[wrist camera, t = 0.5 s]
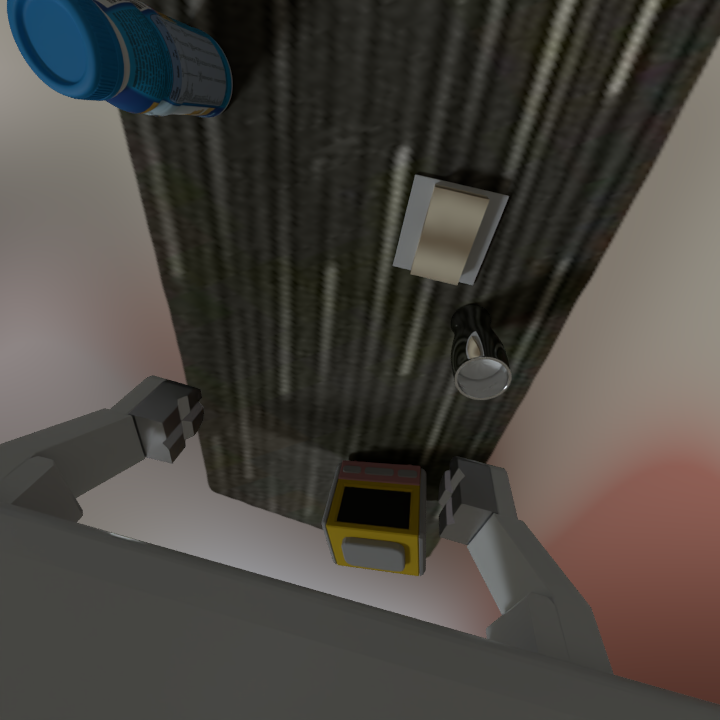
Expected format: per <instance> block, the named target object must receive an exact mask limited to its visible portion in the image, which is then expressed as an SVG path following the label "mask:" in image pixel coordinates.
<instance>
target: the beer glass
mask: <svg viewBox="0 0 720 720" xmlns="http://www.w3.org/2000/svg"><path fill="white" fill-rule="evenodd" d="M451 329H452V331H453V333H454V335H455V336H454V340H453V344H452V350H451V366H452V372H453V376H454V382H455V385H456V388H457V389H458V391H459V392H460V393H461V394H463V395H464V396H466V397H468V398H471V399H476V400H486V399H491V398H494V397H497V396H499V395H500V394H502V393H503V392H504V391H505V390H506V389H507V388H508V387H509V385H510V382H511V371H510V367H509V361H508V357H507V354H506V351H505V348H504V346H503V344H502V342H501V341H500V339H499V337H498V336H497V335H496V333H495V332H494V331H493V330H492V328H491V316H490V314H489V312H488V311H487V310H486V309H485V308H484V307H482V306H479V305H474V304H471V305H466V306H463V307H461V308H459V309H458V310H457V311H456V312H455V313H454V314H453V316H452V318H451Z"/></svg>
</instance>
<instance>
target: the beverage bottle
mask: <svg viewBox="0 0 720 720" xmlns="http://www.w3.org/2000/svg"><path fill="white" fill-rule="evenodd" d="M7 13H8V19H9V24H10V28H11V31H12V34H13V37H14V40H15V42H16V44H17V46H18V48H19V50H20V52H21V54H22V56H23V57H24V59H25V61H26V62H27V63H28V65H29V66H30V67H31V69H32V70H33V71H34V73H35V74H36V75H37V76H38V77H39V78H40V79H41V80H42V81H43V82H44V83H45V84H47V85H48V86H49V87H50V88H52V89H53V90H55V91H57V92H58V93H60V94H63V95H65V96H68V97H71V98H74V99H83V100H97V101H103V100H106V101H107V102H109V103H110V104H112V105H114V106H115V107H117V108H119V109H122V110H124V111H127V112H130V113H137V114H141V113H144V114H147V115H151V116H166V115H169V114H181V115H196V116H200V117H214V116H217V115H219V114H221V113H222V112H223V111H224V110H225V109H226V107H227V106H228V104H229V102H230V99H231V96H232V89H233V81H232V73H231V69H230V65H229V63H228V60H227V58H226V56H225V54H224V52H223V50H222V49H221V47H220V46H219V45H218V43H217V42H216V41H215V40H214V39H213V38H212V37H211V36H209V35H208V34H207V33H205V32H203V31H201V30H199V29H196V28H193V27H190V26H188V25H186V24H183V23H181V22H179V21H177V20H175V19H172V18H170V17H168V16H166V15H163V14H161V13H159V12H157V11H155V10H154V9H152V8H151V7H149V6H148V5H146V4H144V3H142V2H140V1H137V0H7Z"/></svg>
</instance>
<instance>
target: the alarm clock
mask: <svg viewBox="0 0 720 720" xmlns="http://www.w3.org/2000/svg"><path fill="white" fill-rule="evenodd" d="M322 527H323V530H324V533H325V536H326V539H327V543H328V546H329V549H330V553H331V556H332V559H333V562H334V563H335V564H338V565H342V566H349V567H356V568H363V569H371V570H378V571H385V572H392V573H400V574H407V575H415V576H419V573H420V576H421V575H423V574H424V572H425V569H426V567H425V566H426V472H425V470H424V469H422V468H421V469H420V466H413V465H411V464H409V465H399V464H385V463H371V462H357V461H356V460H355V461H343V462H342V463H340V464H339V465H338V466H337V469H336V473H335V477H334V480H333V484H332V487H331V491H330V495H329V498H328V502H327V505H326V509H325V512H324V516H323V520H322Z"/></svg>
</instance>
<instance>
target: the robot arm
mask: <svg viewBox="0 0 720 720" xmlns="http://www.w3.org/2000/svg"><path fill="white" fill-rule="evenodd" d="M201 398H202V394H201V390H200V389H198V388H195V387H192V386H189V385H185V384H182V383H178V382H175V381H171V380H167V379H163V378H160V377H157V376H150V377H147V378H146V379H145V380H143V382H141V383H140V384H139V385H138V386H136V387H135V388H134V389H133V390H132V391H131V392H130V393H128V394H127V395H126V396H125V397H124V398H123V399H121V400H120V401H119V402H118V403H117V404H116V405H114V406H113V407H112V408H111V409H102V410H99V411H96V412H93V413H90V414H87V415H84V416H81V417H78V418H76V419H72V420H70V421H67V422H64V423H61V424H58V425H55V426H52V427H49V428H47V429H43V430H40V431H37V432H34V433H32V434H29V435H26V436H23V437H20V438H17V439H14V440H11V441H8V442H5V443H3V444H0V720H720V705H719V704H715V703H712V702H708V701H704V700H701V699H697V698H694V697H690V696H687V695H683V694H679V693H676V692H673V691H669V690H666V689H662V688H659V687H655V686H651V685H648V684H645V683H641V682H638V681H634V680H630V679H627V678H623V677H620V676H616V675H614V674H613V671H612V668H611V666H610V662H609V659H608V656H607V654H606V651H605V648H604V645H603V642H602V639H601V636H600V633H599V630H598V627H597V624H596V621H595V618H594V615H593V612H592V609H591V607H590V606H589V605H588V603H587V602H586V601H585V599H584V598H583V597H582V596H581V594H580V593H579V592H578V590H577V589H576V588H575V587H574V585H573V584H572V583H571V582H570V580H569V579H568V578H567V577H566V575H565V574H564V573H563V571H562V570H561V569H560V568H559V566H558V565H557V564H556V562H555V561H554V560H553V559H552V557H551V556H550V555H549V554H548V552H547V551H546V550H545V549H544V547H543V546H542V545H541V543H540V542H539V541H538V540H537V538H536V537H535V536H534V534H533V533H532V532H531V531H530V529H529V528H528V527H527V526H526V524H525V523H524V522H523V521H521V520H518V518H517V513H516V509H515V505H514V501H513V496H512V492H511V488H510V484H509V479H508V475H507V472H506V470H505V469H504V468H500V467H496V466H493V465H489V464H485V463H481V462H477V461H474V460H470V459H466V458H462V457H458V456H455V457H453V458H452V460H451V462H450V470H448V471H446V472H444V474H443V476H442V478H441V482H440V486H439V503H440V505H441V506H442V508H443V509H442V511H441V513H440V514H439V537H442V538H445V539H449V540H452V541H455V542H458V543H462V544H465V545H468V546H467V548H468V550H469V552H470V553H471V555H472V557H473V559H474V561H475V563H476V565H477V567H478V569H479V571H480V573H481V575H482V577H483V579H484V580H485V582H486V584H487V586H488V588H489V590H490V592H491V594H492V596H493V598H494V600H495V602H496V604H497V606H498V608H499V610H500V612H501V614H502V616H501V617H500V618H498V619H497V620H496V621H494V622H493V623H492V624H491V625H490V626H489V627H487V628H486V635H487V639H486V638H482V637H479V636H475V635H472V634H468V633H464V632H461V631H457V630H454V629H451V628H447V627H443V626H440V625H436V624H433V623H429V622H425V621H422V620H418V619H415V618H412V617H408V616H405V615H401V614H398V613H394V612H391V611H387V610H383V609H380V608H376V607H373V606H369V605H366V604H362V603H359V602H355V601H352V600H348V599H345V598H341V597H337V596H334V595H331V594H327V593H323V592H320V591H316V590H313V589H309V588H306V587H302V586H299V585H295V584H292V583H288V582H285V581H281V580H278V579H274V578H271V577H267V576H263V575H260V574H256V573H253V572H249V571H246V570H242V569H239V568H235V567H231V566H228V565H224V564H221V563H218V562H214V561H210V560H207V559H204V558H200V557H196V556H193V555H189V554H186V553H182V552H178V551H175V550H172V549H168V548H165V547H161V546H157V545H154V544H151V543H147V542H143V541H140V540H136V539H133V538H129V537H125V536H122V535H119V534H115V533H112V532H108V531H104V530H101V529H97V528H93V527H90V526H87V525H83V524H79V523H77V521H78V520H79V519H80V518H81V517H82V516H83V510H82V509H81V507H80V505H79V503H78V502H77V500H76V498H77V497H79V496H80V495H82V494H84V493H86V492H87V491H89V490H91V489H92V488H94V487H96V486H98V485H100V484H101V483H103V482H105V481H107V480H108V479H110V478H112V477H114V476H115V475H117V474H119V473H121V472H122V471H124V470H126V469H128V468H129V467H131V466H133V465H135V464H136V463H138V462H140V461H142V460H144V459H145V457H147V458H151V459H155V460H160V461H164V462H168V463H173V462H174V461H175V459H176V458H177V457H178V456H179V454H180V453H181V452H182V451H183V449H184V448H185V440H186V439H188V438H190V437H192V436H194V435H195V434H196V432H197V431H198V430H199V428H200V426H201V424H202V421H203V417H204V408H203V406H202V405H201V404H200V403H199V401H200V399H201Z"/></svg>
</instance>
